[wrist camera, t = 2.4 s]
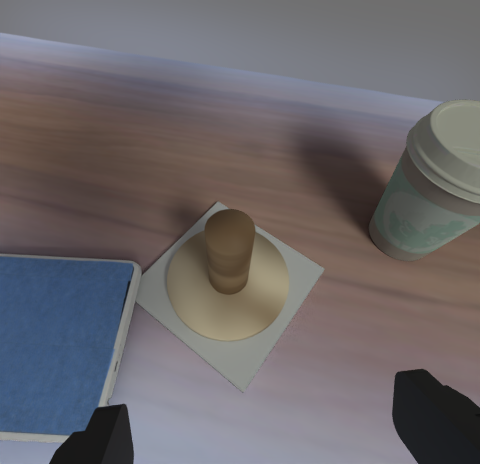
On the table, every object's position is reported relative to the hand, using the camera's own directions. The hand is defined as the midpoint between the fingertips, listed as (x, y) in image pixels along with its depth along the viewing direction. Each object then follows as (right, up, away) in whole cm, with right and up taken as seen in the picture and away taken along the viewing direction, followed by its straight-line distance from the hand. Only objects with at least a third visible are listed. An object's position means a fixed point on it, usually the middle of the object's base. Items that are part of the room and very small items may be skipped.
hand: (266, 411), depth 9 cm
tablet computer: (-19, -3, +14) cm, 23 cm away
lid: (-2, +1, +17) cm, 17 cm away
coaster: (-2, +1, +17) cm, 17 cm away
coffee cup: (+15, +5, +20) cm, 26 cm away
